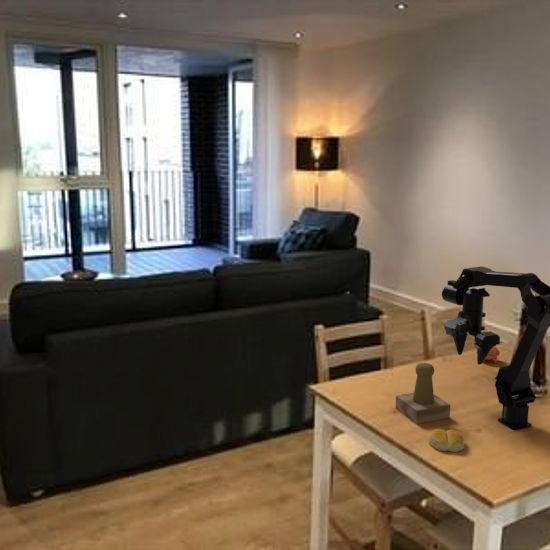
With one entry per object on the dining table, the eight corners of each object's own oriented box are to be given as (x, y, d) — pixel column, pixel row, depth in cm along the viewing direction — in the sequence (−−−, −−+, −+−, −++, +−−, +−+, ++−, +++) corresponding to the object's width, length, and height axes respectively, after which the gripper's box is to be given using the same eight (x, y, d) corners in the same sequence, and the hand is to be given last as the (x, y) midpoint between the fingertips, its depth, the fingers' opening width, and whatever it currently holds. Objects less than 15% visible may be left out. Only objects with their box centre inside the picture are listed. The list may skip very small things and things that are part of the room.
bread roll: (428, 436, 159) (429, 422, 158) (463, 440, 156) (464, 425, 156) (427, 450, 151) (428, 436, 150) (464, 455, 149) (465, 440, 148)
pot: (485, 365, 209) (483, 346, 209) (473, 363, 217) (471, 344, 217) (505, 362, 211) (503, 343, 211) (492, 360, 218) (490, 342, 219)
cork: (410, 396, 174) (412, 360, 172) (431, 396, 174) (433, 360, 172) (415, 404, 168) (416, 368, 166) (436, 404, 168) (438, 367, 166)
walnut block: (449, 417, 169) (450, 404, 168) (416, 424, 165) (417, 410, 164) (427, 402, 179) (427, 390, 178) (395, 408, 175) (395, 395, 174)
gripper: (430, 304, 181) (428, 353, 184) (470, 320, 164) (467, 373, 167) (461, 300, 185) (458, 348, 188) (503, 316, 167) (499, 368, 171)
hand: (469, 359), depth 178 cm, fingers open, 9 cm apart
